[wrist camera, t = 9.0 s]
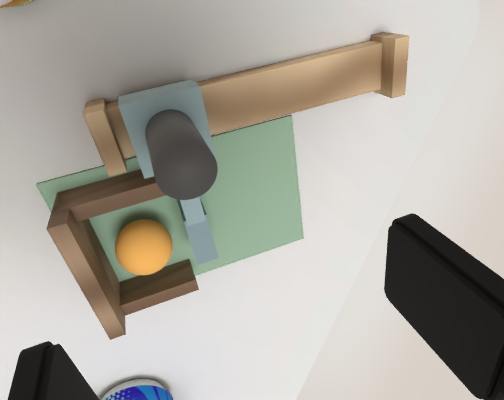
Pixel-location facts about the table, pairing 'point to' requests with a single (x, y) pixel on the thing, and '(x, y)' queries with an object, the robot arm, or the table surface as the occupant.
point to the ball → (143, 247)
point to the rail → (271, 91)
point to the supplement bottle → (13, 3)
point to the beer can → (138, 391)
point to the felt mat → (216, 199)
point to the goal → (95, 259)
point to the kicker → (176, 152)
